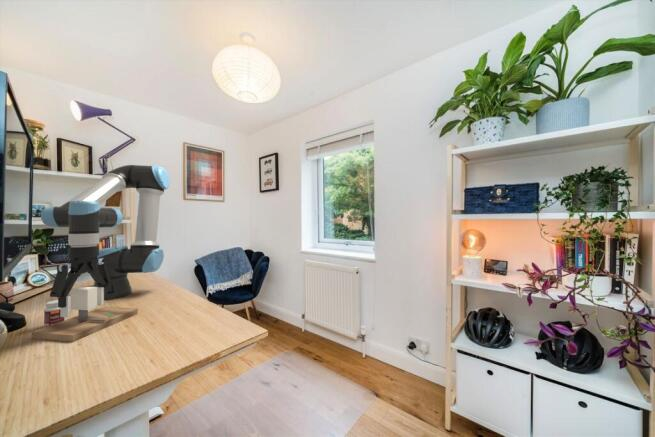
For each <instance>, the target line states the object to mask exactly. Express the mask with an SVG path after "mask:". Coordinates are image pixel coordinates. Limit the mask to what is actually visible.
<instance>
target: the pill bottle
mask: <svg viewBox="0 0 655 437" xmlns="http://www.w3.org/2000/svg"><path fill="white" fill-rule="evenodd" d="M60 313H61V308H59V307H58V299H55V300H51V301H47V302H46V303H45V308H44V310H43V328H44V327H47V326H50V325H53V324H55V323H58V322H61V321H64V320H65V317H60Z"/></svg>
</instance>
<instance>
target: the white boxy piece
mask: <svg viewBox="0 0 655 437" xmlns="http://www.w3.org/2000/svg"><path fill="white" fill-rule="evenodd" d="M69 296H71V309H70V310H76V311H78V315H77V316H78V322H83V321H86V320H88V312H89V311H91V310H94V309H95V308H96V309H97V308H98V305H97V287H93V286H84V285H81V286H80V285H79V286H74V287H72V289H71V290H70V292H69ZM89 321H100V322H105V321H106V319H93V318H90V319H89Z"/></svg>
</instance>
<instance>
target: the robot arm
mask: <svg viewBox="0 0 655 437" xmlns="http://www.w3.org/2000/svg"><path fill="white" fill-rule="evenodd" d="M170 182H171V181H170V176H169V173H168V172H167V170H166V169H165V168H164V167H162V166H156V165H140V164H139V165H137V164H127V165H123V166H118V167H116V168H114V169H112V170H110V171H108V172H106V173H104V174H103V175H102V177H101V179H100V180H98V181H97V182H96V183H93V185H91V186H90V187H88V188H86V189H85V190H83V191H82V192H81V193H79V194H77V195H75V196H74V197H73V198H71V199H70V200H68V201H67V202H65V203H63V204H62V205H60V206H48V207H46V208H44V209H43V210H42V212H41V213H40V220H41V221H42V223H43V224H44V225H45V226H47V227H50V228H51V227H52V228H68V246H70V247H68V248H67V250H68V251H67V257H68V259H69V260H68V263H65V264H58V265H56V275H55V278H54V280H53V284H52V287H51V291H50V293H49V297H51V298H57V300H58V307H59V308H61V313H60V317H64V318H71V310H72V309H71V296H70V290H71V289H72V288H74V287H73V286H75V283H76V282H77V281H78V280H77V279H79V277H81V276H82V275H83V274H85V273H88V275H90V277H91V279H92V280H93V281H94V282H93V285H92V287H97V307H98V306H99V307H103V306H104V304H105V303H104V302H105V300H106V301H107V300H111V299H112V300H113V299H118V298H121V297H125V296H128V295H130V294H131V293H132V286H131V285H130V281H129V278H128V274H137V273H138V274H140V273H142V274H147V273H154V272H156V271H158V270H159V269H160V268H161V266H162V264H163V261H164V259H165V254H164V249H162V248H160V244H159V243H158V242H157V235H158V224H159V213H160V203H161V202H160V201H161V196H163V195H164V193H165V190H168V189H169V187H170ZM125 189H135V191H136V192H137V193H138V194H139V196H138V203H137V204H138V207H137V216H136V226H135V235H134V236H135V238H134V242H132V243H131V244H130V248H129V247H128V245H120V246H112V247H105V248H100V246H99V244H100V228H113V227H117V226H119V225H120V224H122V222H123V220H124V216H123V213H122V212H121V210H119V209H117V208H112V207H101V205H102V204H104V203H105V202H106V201H107V200H108V199H110V198H111V197H112V196H113V195H115V194H117V192H118V193H119V192H122V191H124V190H125Z"/></svg>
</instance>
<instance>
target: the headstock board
mask: <svg viewBox="0 0 655 437" xmlns="http://www.w3.org/2000/svg"><path fill="white" fill-rule="evenodd" d="M138 313H139V309H138V308H135V307H134V308H133V307H132V308H131V307H119V306H106V305H105V306H104V305H103V306H100V307H99V308H98V307H97V308H96V309H95V308H94V309H92V310H89V311H88V320H86V321H83V322H78V315H75V316H72V317H69V318H67V319H64V321H61V322H58V323H55V324H53V325H50V326H47V327H44V326H43V327H42V328H39V329H36V330H33V331H31V333H30V334H31V335H30V336H31V339H38V340H46V339H47V340H49V341H56V342H57V341H58V342H59V341H61V342H69V343H74V342H76V341H79V340H80V339H81V340H82V338H83V339H84V338H86V337H88V336H90V335H92V334H94V333H97V332H99V331H101V330H103V329H106V328H108V327H110V326H113V325H115V324H118V323H120V322H122V321H125V320H126V319H129V318H132V317H134V316H136V315H138ZM90 318H93V319H106V321H105V322H100V321H89V319H90ZM47 340H46V341H47Z"/></svg>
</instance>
